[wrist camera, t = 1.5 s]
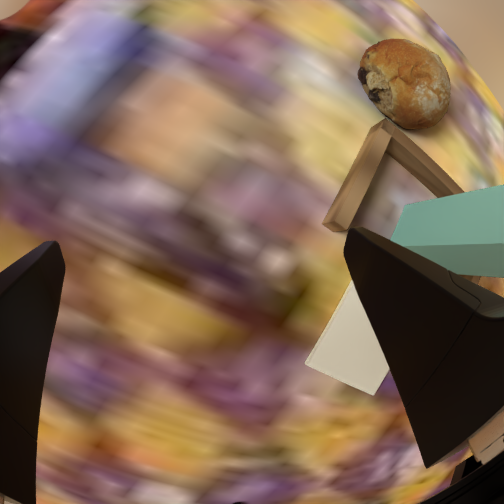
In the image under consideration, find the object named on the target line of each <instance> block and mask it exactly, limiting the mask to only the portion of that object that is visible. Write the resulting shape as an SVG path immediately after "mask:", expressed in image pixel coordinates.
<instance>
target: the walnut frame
mask: <svg viewBox="0 0 504 504" xmlns="http://www.w3.org/2000/svg"><path fill="white" fill-rule="evenodd" d="M384 152H387V153H388V154H389V155H390V156H392V157H393V158H394V159H395V160H396V161H398V162H399V163H400V164H401V165H402V166H403V167H405V168H406V169H407V170H408V171H409V172H410V173H411V174H413V175H414V176H415V177H416V178H417V179H418V180H419V181H420V182H422V183H423V184H424V185H425V186H426V187H427V188H428V189H429V190H430V191H431V192H432V193H433V194H434V195H436V196H437V197H438V198H441V197H446V196H451V195H455V194H460V193H465V192H464V191H463V190H462V189H461V188H460V187H459V186H458V185H457V184H456V183H455V182H454V180H453V179H452V178H451V177H450V176H449V175H448V174H447V173H446V172H445V171H444V170H443V169H442V168H441V167H440V166H439V165H438V164H437V163H435V162H434V161H433V160H432V159H431V158H430V157H429V156H428V155H427V154H426V153H425V152H424V151H423V150H422V149H421V148H419V147H418V146H417V145H416V144H415V143H414V142H413V141H412V140H411V139H409V138H408V137H407V136H406V135H405V134H404V133H402V132H401V131H400V130H399V129H398V128H397V127H395V126H394V125H393V124H392V123H391V122H389V121H388V120H387V119H386V118H385V119H383V120H382V121H380V122H379V123H377V124H376V125H374V126H373V127H371V129H370V131H369V133H368V135H367V137H366V139H365V141H364V143H363V145H362V147H361V149H360V151H359V153H358V155H357V157H356V159H355V161H354V163H353V165H352V167H351V169H350V171H349V173H348V175H347V177H346V179H345V181H344V183H343V185H342V187H341V189H340V191H339V192H338V194H337V196H336V198H335V200H334V202H333V204H332V206H331V208H330V210H329V211H328V213H327V215H326V217H325V219H324V221H323V223H322V224H323V225H324V226H326V227H327V228H329V229H330V230H332V231H333V232H336V231H342V230H347V229H348V227H349V225H350V223H351V221H352V219H353V217H354V215H355V213H356V211H357V209H358V207H359V205H360V203H361V201H362V199H363V197H364V195H365V193H366V191H367V189H368V187H369V185H370V182H371V180H372V178H373V176H374V174H375V172H376V170H377V167H378V165H379V163H380V161H381V159H382V156H383V154H384ZM458 275H460V274H458ZM460 276H462V277H463V278H465V279H467V280H469V281H471V282H473V283H475V284H477V285H478V283H479V280H480V277H481V276H474V275H460Z"/></svg>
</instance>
